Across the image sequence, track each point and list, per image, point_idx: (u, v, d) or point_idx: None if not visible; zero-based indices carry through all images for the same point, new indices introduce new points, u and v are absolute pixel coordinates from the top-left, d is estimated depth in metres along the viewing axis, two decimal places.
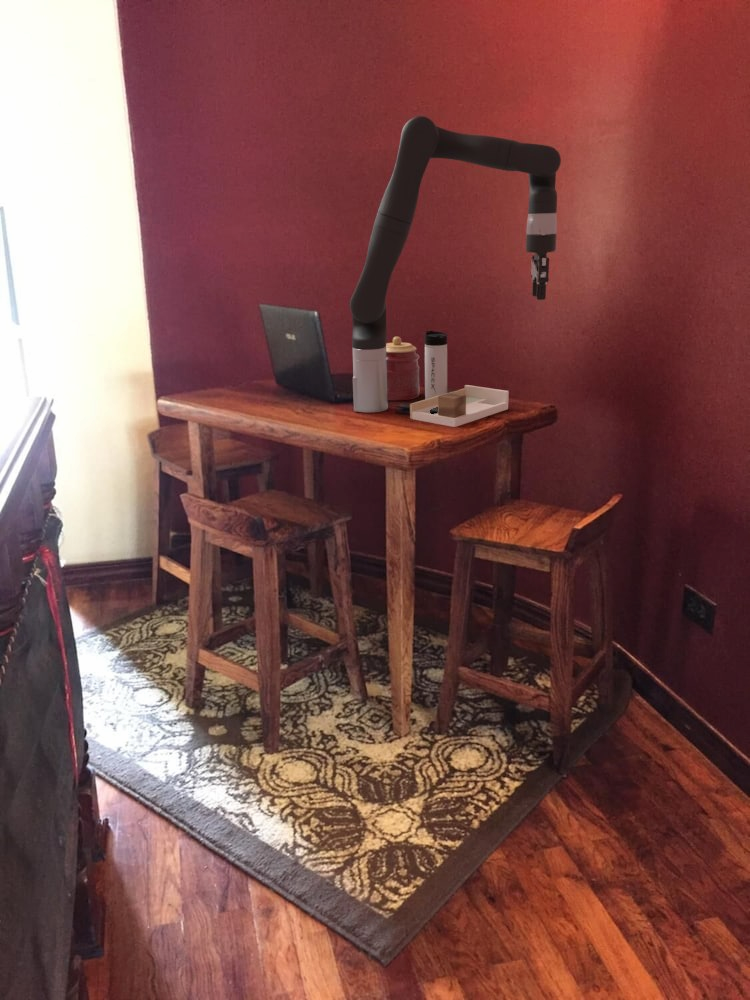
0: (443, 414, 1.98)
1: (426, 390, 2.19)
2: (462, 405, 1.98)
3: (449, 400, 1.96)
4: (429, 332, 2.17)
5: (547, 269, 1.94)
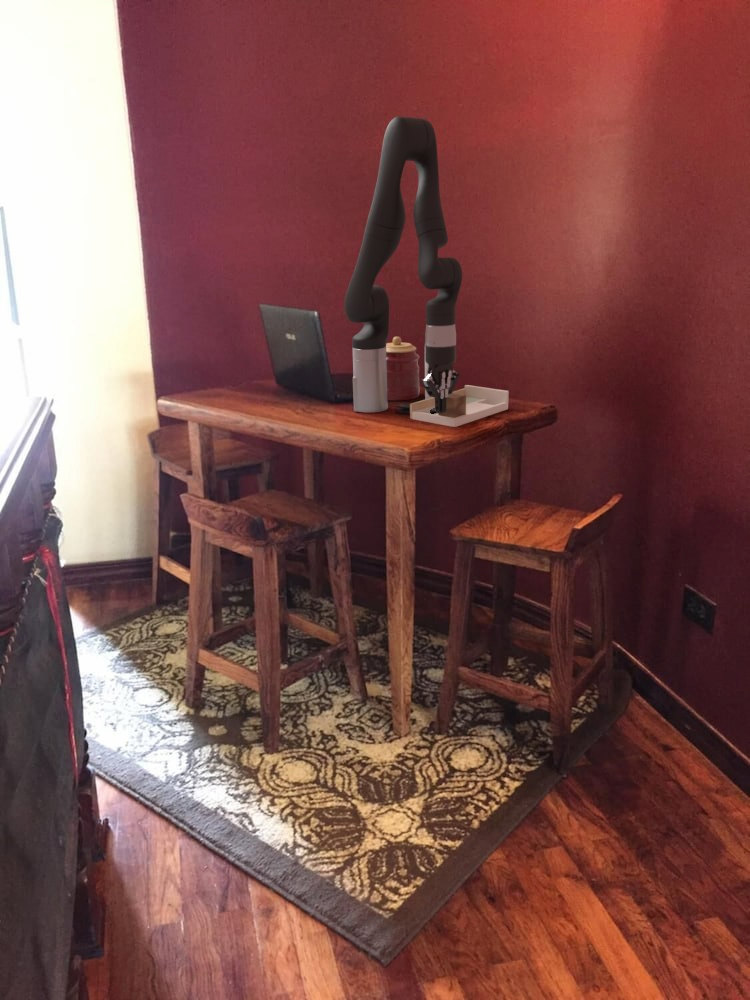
0: (443, 414, 1.98)
1: None
2: (462, 405, 1.98)
3: (449, 400, 1.96)
4: None
5: None
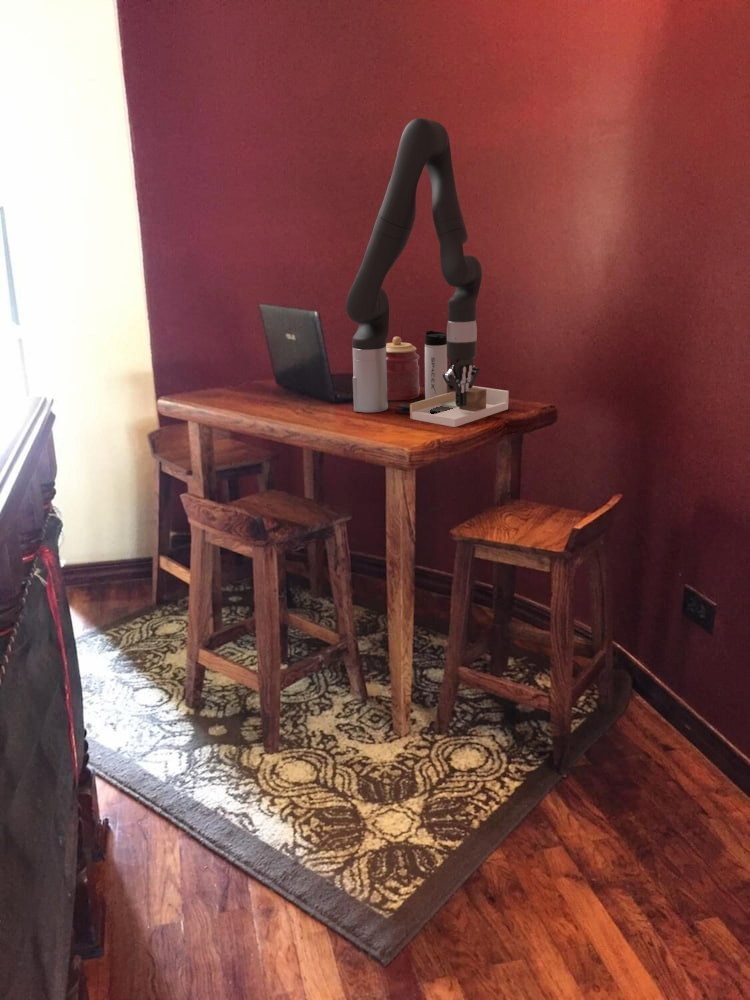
0: (464, 408, 2.04)
1: (426, 390, 2.19)
2: (482, 399, 2.03)
3: (470, 394, 2.01)
4: (429, 332, 2.17)
5: None
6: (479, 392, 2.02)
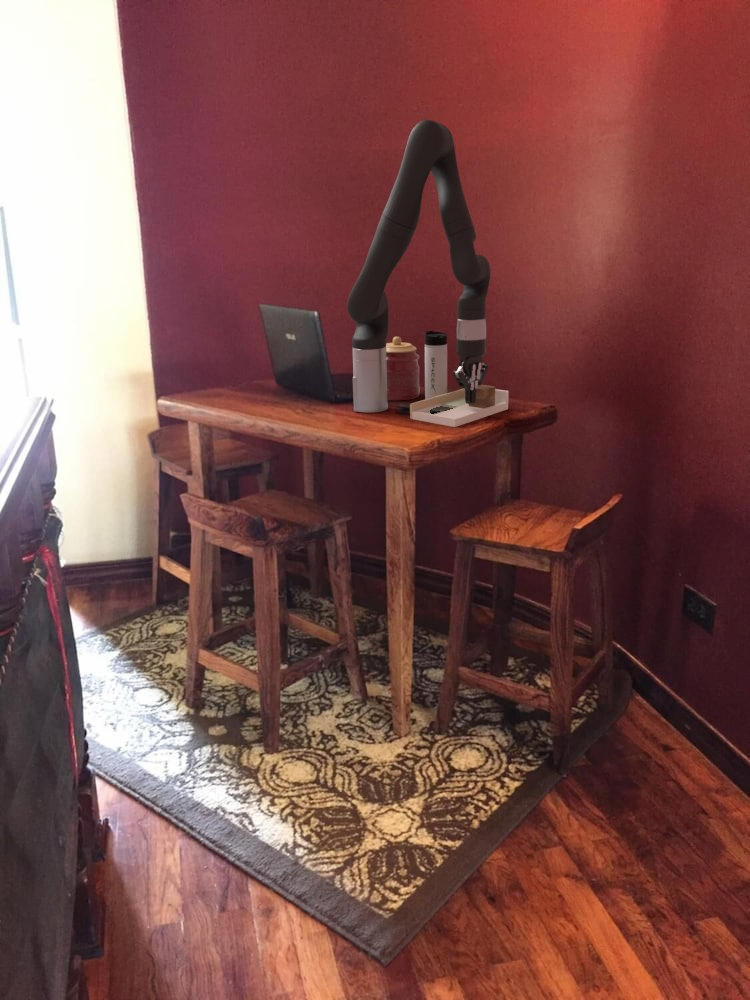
0: (473, 405, 2.07)
1: (426, 390, 2.19)
2: (491, 396, 2.06)
3: (480, 391, 2.04)
4: (429, 332, 2.17)
5: None
6: (488, 389, 2.05)
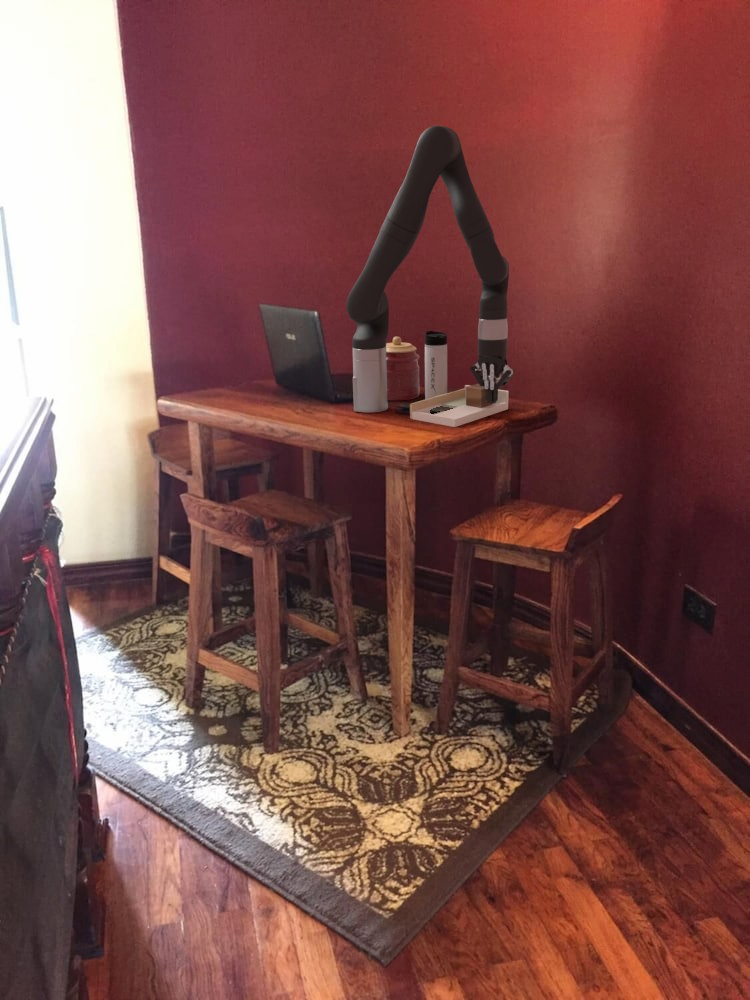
0: (470, 404, 2.08)
1: (426, 390, 2.19)
2: None
3: (477, 391, 2.05)
4: (429, 332, 2.17)
5: None
6: (485, 389, 2.05)
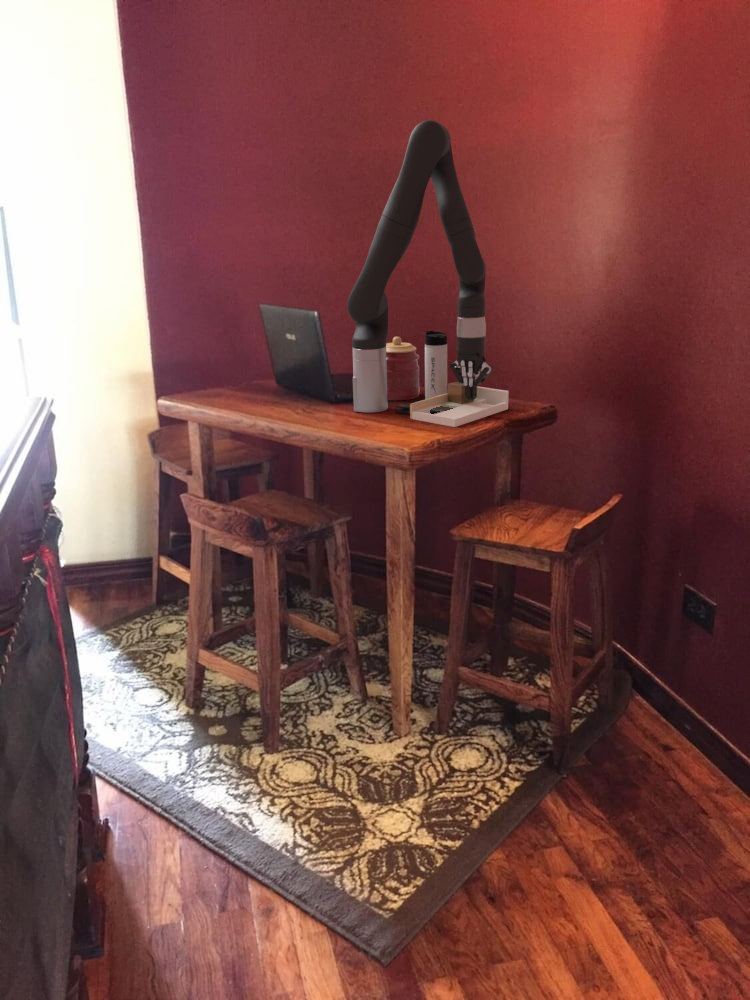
0: (452, 400, 2.13)
1: (426, 390, 2.19)
2: None
3: (457, 387, 2.10)
4: (429, 332, 2.17)
5: None
6: None
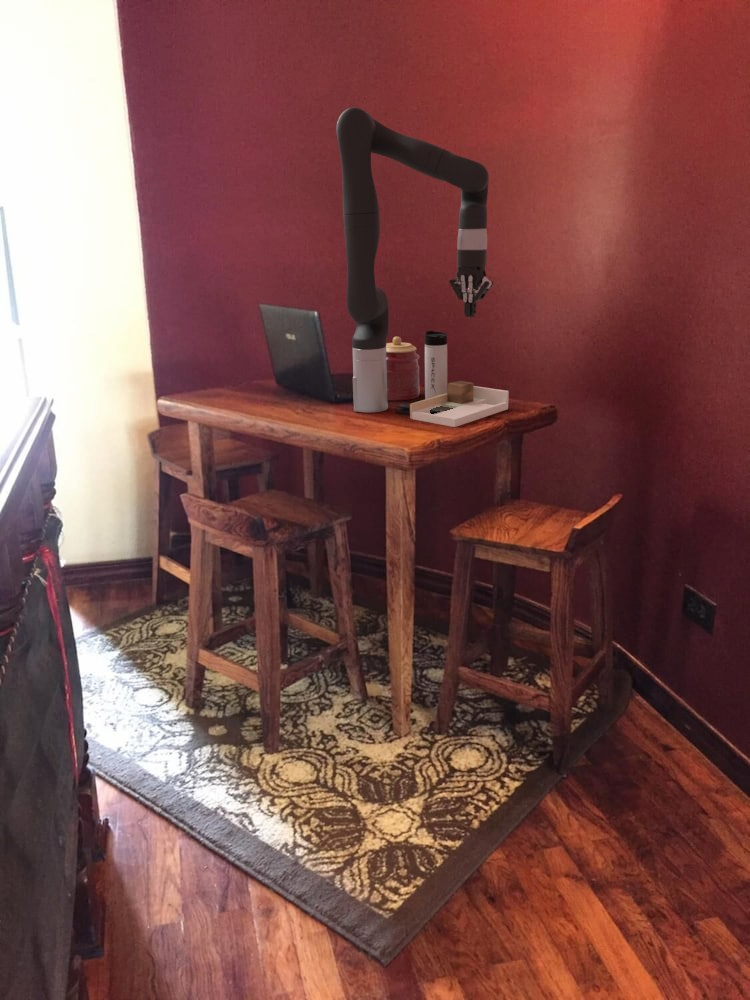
0: (451, 400, 2.13)
1: (426, 390, 2.19)
2: (469, 392, 2.12)
3: (457, 387, 2.10)
4: (429, 332, 2.17)
5: None
6: (466, 385, 2.10)
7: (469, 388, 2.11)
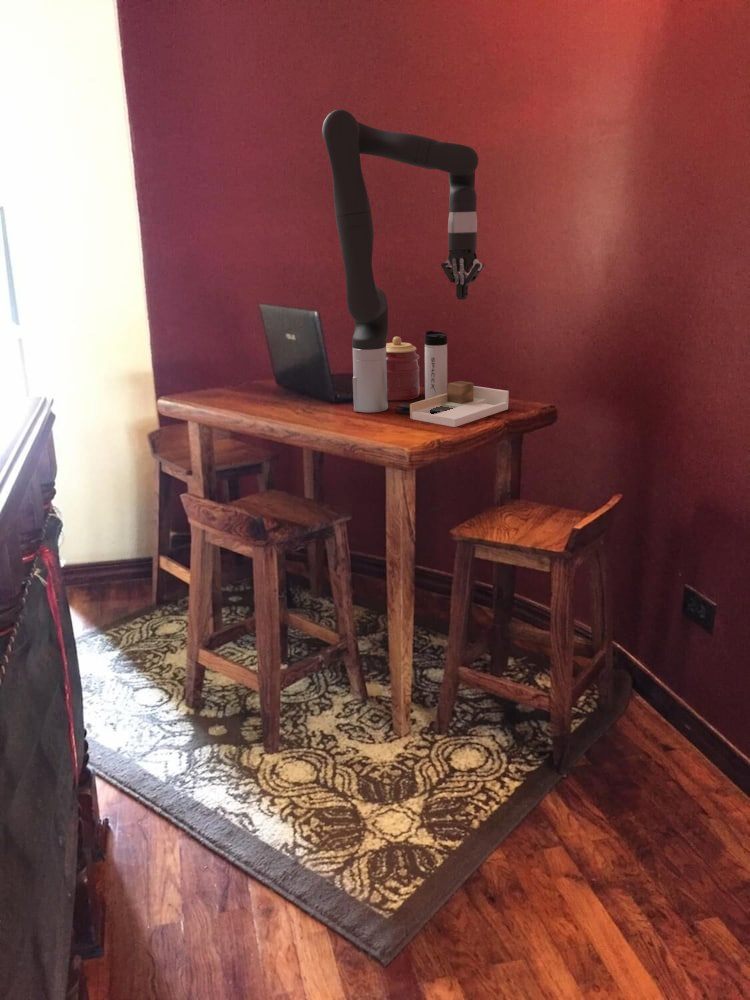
0: (451, 400, 2.13)
1: (426, 390, 2.19)
2: (469, 392, 2.12)
3: (457, 387, 2.10)
4: (429, 332, 2.17)
5: None
6: (466, 385, 2.10)
7: (469, 388, 2.11)
